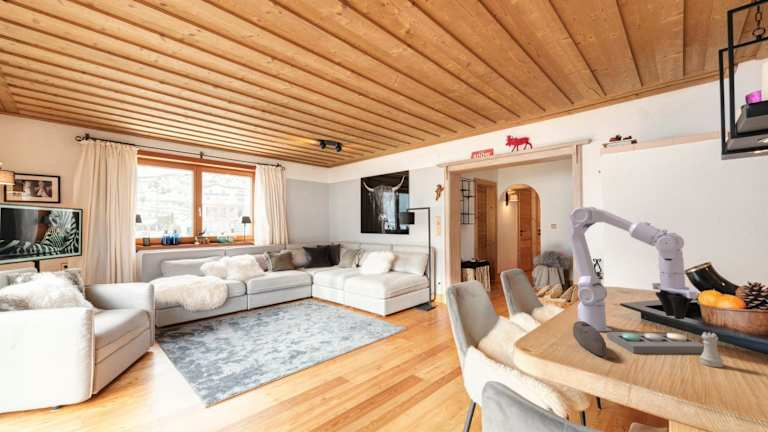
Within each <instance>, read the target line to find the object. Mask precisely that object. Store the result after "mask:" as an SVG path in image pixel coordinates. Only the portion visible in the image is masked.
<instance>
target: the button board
mask: <svg viewBox="0 0 768 432" xmlns="http://www.w3.org/2000/svg"><path fill="white" fill-rule="evenodd" d="M623 333H631V334H636V335H639V336H640V341H639V342H632V341H627V340H624V339H623V338H622V334H623ZM645 333H654V334H659V335H662V336H663V341H662V342H655V341H650V340H647V339H645V336H644V334H645ZM667 333H675V332H673V331H606V338H607V339H608V340H609V341H612V342H613V343H614V344H617V346H619V347H622V348H624V349H625V350H626V351H629V352H630V353H632V354H702V353H703V351H704V343H701V342H699V341H696V340H693V339H691V338H689V337H686V339H687V341H686V342H679V341H673V340H670V339H668V338H667Z"/></svg>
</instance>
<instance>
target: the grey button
mask: <svg viewBox="0 0 768 432" xmlns="http://www.w3.org/2000/svg"><path fill="white" fill-rule="evenodd" d="M644 336H645V339H647V340H650V341H655V342H662V341H663V336H662V335H659V334H654V333H645V334H644Z"/></svg>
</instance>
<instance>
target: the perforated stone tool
mask: <svg viewBox="0 0 768 432" xmlns="http://www.w3.org/2000/svg"><path fill="white" fill-rule="evenodd" d="M572 334H573V337H574V339H575V340H576V341H577V342H578V344H579V345H580V346H582V347H583V348H584V349H586V350H587V351H589V352H591V353H592V354H594V355H597V356H599V357H603V356H605V355H606V353H607V343H606V341H605V339H604V336H603V335H602V334H601V333H600V331H597V330H596V329H595V328H594V327H593V326H591V325H590V324H588V323H586V322H583V321H578V320H577V321H575V322H574V323H573V327H572Z"/></svg>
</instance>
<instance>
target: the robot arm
mask: <svg viewBox="0 0 768 432" xmlns="http://www.w3.org/2000/svg"><path fill="white" fill-rule="evenodd" d="M568 217H569V222H568V226H567V228H566V233H567V238H568V241H569V245H570V248H571V252H572V254H573V258H574V261H575V262H574V263H575V266H576V269H577V274H578V277H579V278H578V281H577V288H578V290H577V297H578V299H579V300H580V302H579V303H578V305H577V321H583V322H586V323H588V324H590V325H591V326H593V327H594V328H595V329H596V330H597V331H598V332H613V329H611V328H609V327H608V326H607V318H606V317H607V316H606V303H605V301H604V300H605V299H606V298H607V296H608V292H607V291H608V290H607V288H605V286H604V285H603V284H602V280H601V278H599V277H598V276H597V273H596V269H595V267H594V264H593V260H592V256H591V253H590V250H589V247H588V243H587V240H586V236H585V233H586V232H587V231H588V230H589V228H590V227H591V226H593V225H595V224H596V223H605V224H608V225H611V226H613V227H616V228H618V229H621V230H623V231H625V232H628V233H629V235H630V237H631V238H632V239H635V240H637V241H639V242H641V243H644V244H646V245H649V246H651V247H655V249H657V250H658V266H659V267H658V268H659V282H660V283H659V282H653V283H652V290H658V292H655V296H656V297H657V298H658V300H659V302H660V303H661V305H662V307H663V310H664V313H665V315H666V316H667V317H674V319H676V320H685V316H686V314H687V310H688V307H689V305H690V304H691V303H692V301H693V300H694V299H698V293H697V291H695V290H692V289H690V286H689V287H688V286H686V276H685V263H684V256H683V254H684V253H683V248H684V245H685V241H684V238H683V237H682V236H680V235H679V234H677V233H675V232H668V229H665V228H663V229H660V228H658V227H656V226H653V225H651V223H650V222H648V221H644V222H643V221H639V222H632V221H630V220H627V219H625V218H623V217H621V216H619V215H616V214H614V213H611V212H609V211H608V210H604V209H600V208H596V207H593V206H590V207H587V206H586V207H584V206H578V207H576V208H574V209H573V210H572V211H571V212H570V214H569V215H568Z"/></svg>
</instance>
